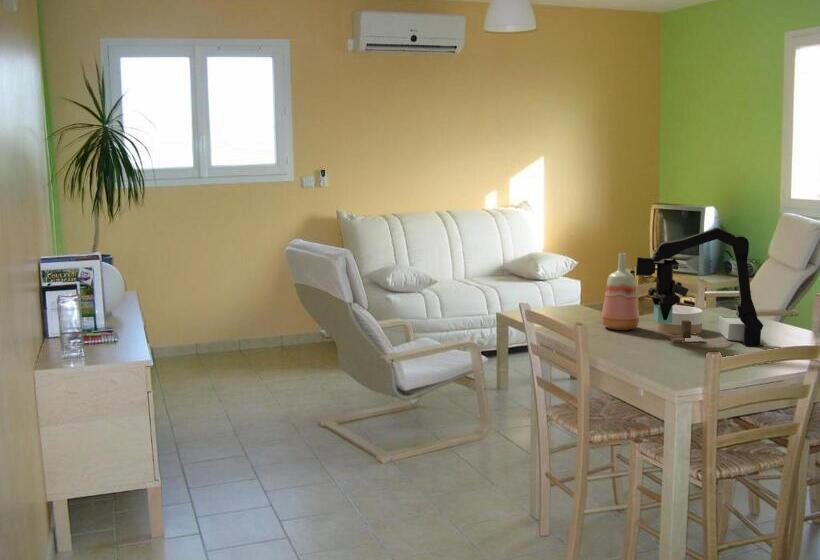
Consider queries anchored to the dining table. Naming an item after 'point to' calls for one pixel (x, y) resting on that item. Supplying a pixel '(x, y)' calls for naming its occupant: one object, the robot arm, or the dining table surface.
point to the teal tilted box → (658, 315)
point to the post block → (682, 332)
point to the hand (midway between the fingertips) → (662, 318)
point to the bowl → (682, 314)
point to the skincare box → (731, 328)
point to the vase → (620, 299)
